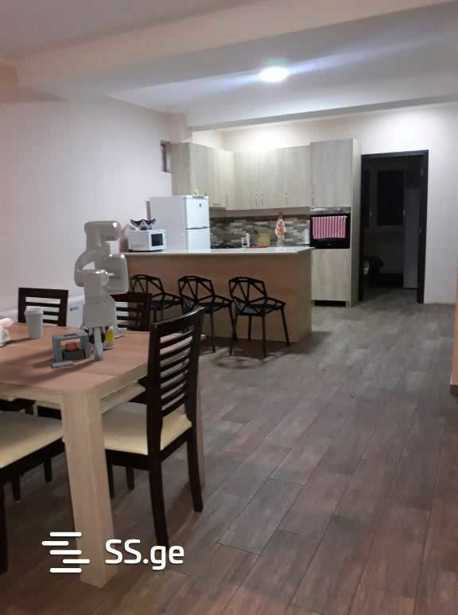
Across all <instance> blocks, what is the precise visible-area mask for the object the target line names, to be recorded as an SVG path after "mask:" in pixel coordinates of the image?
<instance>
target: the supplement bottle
mask: <svg viewBox="0 0 458 615" xmlns="http://www.w3.org/2000/svg"><path fill="white" fill-rule="evenodd" d="M110 322H111V321H110ZM104 342H105V343H102V345H103V350H111V349H114V348H115V338H114V331H113V327H112V326H111V327H110V328H109V329H108V330H107V331H106V333H105V340H104Z"/></svg>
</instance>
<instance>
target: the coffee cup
mask: <svg viewBox="0 0 458 615" xmlns="http://www.w3.org/2000/svg"><path fill="white" fill-rule="evenodd" d="M23 315H24V316H25V317H24V318H25V322H26V327H27V331H28V332H27V333H28V337H29V339H31V340H37V339H42V338H43V335H44V334H43V332H44V331H43V330H44V327H43V324H44V323H43V322H44V321H43V319H44V318H43V317H44V316H43V315H44V311H43V309H42V308H41V307H33V308H27V309H25V310H24V313H23Z"/></svg>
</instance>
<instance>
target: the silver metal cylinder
mask: <svg viewBox="0 0 458 615" xmlns="http://www.w3.org/2000/svg"><path fill="white" fill-rule="evenodd" d="M92 335H93V340H94V344H92V352H93V353H92V354H93V360H94V361H103V360H104V349H103V345H102V332H101V327H96V328H92Z"/></svg>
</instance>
